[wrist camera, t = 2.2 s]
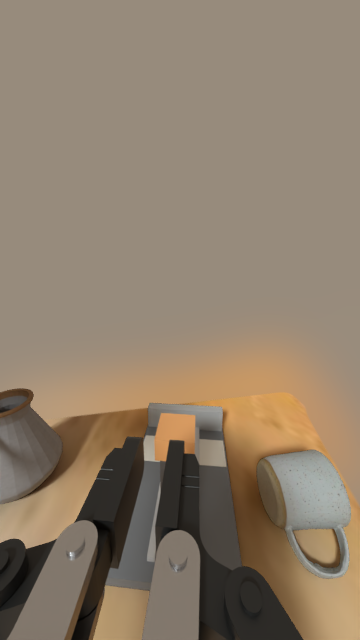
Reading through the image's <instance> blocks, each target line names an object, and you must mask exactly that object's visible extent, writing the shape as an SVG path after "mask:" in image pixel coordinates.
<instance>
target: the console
mask: <svg viewBox="0 0 360 640" xmlns="http://www.w3.org/2000/svg"><path fill="white" fill-rule="evenodd" d="M161 413H171V414H187V415H195V456H196V458H197V460H198V462H199V511H200V537H201V541H202V544H203V546H204V548H205V549H206V551H207V553H208V554H209V555H210V556H211V557H212V558H213V559H214V560H216V561H217V562H219V563H220V564H222V565H224V566H225V567H227V568H229V569H231V570H232V571H233V570H234V569H236V568H237V567H241V566H242V563H241V556H240V549H239V542H238V535H237V528H236V521H235V514H234V507H233V500H232V493H231V486H230V479H229V472H228V465H227V458H226V451H225V444H224V437H223V430H222V418H223V411H222V407H214V406H196V405H179V404H161V403H150V404H149V406H148V427H147V430H146V433H145V436H144V439H143V445H144V472H143V477H142V481H141V485H140V489H139V492H138V496H137V500H136V504H135V508H134V511H133V515H132V519H131V523H130V526H129V530H128V534H127V538H126V542H125V545H124V549H123V553H122V557H121V561H120V564H119V568H118V569H115V568H110V570H109V573H108V577H107V580H106V584H105V585H109V586H117V587H124V588H132V589H140V590H148V591H150V589H151V583H152V577H153V571H154V566H155V560H156V536H155V524H156V518H157V512H158V506H159V500H160V494H161V488H160V461H156V460H155V446H154V439H155V435H156V431H157V427H158V423H159V419H160V415H161Z"/></svg>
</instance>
